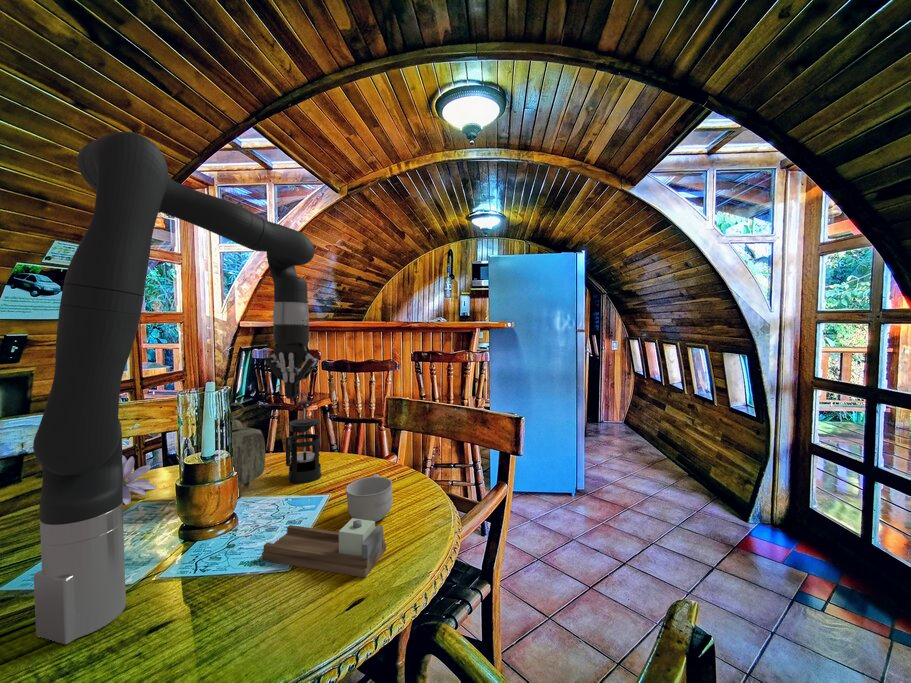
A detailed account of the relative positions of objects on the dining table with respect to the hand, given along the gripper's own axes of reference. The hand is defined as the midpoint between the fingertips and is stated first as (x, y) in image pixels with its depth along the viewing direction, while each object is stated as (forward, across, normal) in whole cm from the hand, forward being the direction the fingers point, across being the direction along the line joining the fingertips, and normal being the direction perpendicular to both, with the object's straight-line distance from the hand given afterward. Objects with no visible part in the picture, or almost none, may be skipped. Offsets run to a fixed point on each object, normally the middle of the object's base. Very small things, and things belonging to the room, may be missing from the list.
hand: (292, 398), depth 90 cm
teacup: (+29, +16, +8) cm, 34 cm away
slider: (+27, +21, -10) cm, 36 cm away
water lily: (+29, -50, +1) cm, 58 cm away
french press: (+29, -14, +24) cm, 40 cm away
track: (+29, +14, -10) cm, 34 cm away
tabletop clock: (+29, -24, +8) cm, 39 cm away
